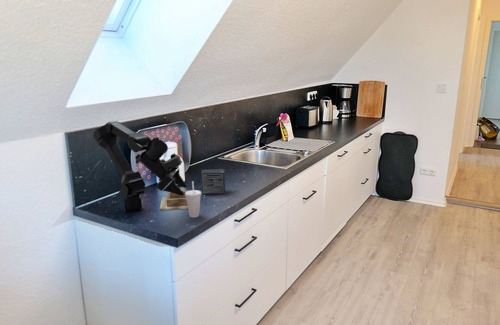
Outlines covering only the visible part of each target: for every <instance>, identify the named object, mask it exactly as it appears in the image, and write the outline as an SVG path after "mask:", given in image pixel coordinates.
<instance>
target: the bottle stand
mask: <svg viewBox="0 0 500 325" xmlns="http://www.w3.org/2000/svg"><path fill="white" fill-rule="evenodd" d="M182 191H183V193H184V195H183V196H181V195H178V194H175V193H171V192H167V196H162V197H161V202H160V206H159V211H172V210H173V211H175V210H188V205H187V200H186V196H185V192H187V191H188V190H182Z"/></svg>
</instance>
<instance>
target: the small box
mask: <svg viewBox="0 0 500 325" xmlns="http://www.w3.org/2000/svg"><path fill="white" fill-rule="evenodd" d="M225 174H226V173H225V169H224V168H219V169H217V168H216V169H202V170H201V172H200V175H201V196H206V195H209V196H210V195H225V194H226V178H225V176H226V175H225Z"/></svg>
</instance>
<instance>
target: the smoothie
mask: <svg viewBox="0 0 500 325" xmlns="http://www.w3.org/2000/svg"><path fill="white" fill-rule="evenodd" d="M194 184H195V182H194V181H193V180H192V181H191V185H192V186H191V188H192V189H191V190H186V191H187V192H185V196H186V200H187V205H188V209H187V210H188V215H189V217H190V218H198V217H199V216H200V209H201V208H200V207H201V206H200V205H201V196H202V190H197V189H195V186H194Z"/></svg>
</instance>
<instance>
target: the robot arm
mask: <svg viewBox="0 0 500 325" xmlns="http://www.w3.org/2000/svg"><path fill="white" fill-rule="evenodd" d="M118 138H119V139H122V141H124V142H126V143H127V144H128V148H129V149H130V150H131V151H132V152H134V153H137V154H136V156H135V158H134V159H135V164H139V163H141V164H142V165H143V166H144V167H145V168H146V169H148V170H149V171H150V174H151V175H155V176H156V177H157V178H158V182H157V189H158V190H159V191H161V192H167V193H168V192H171V193H175V194H178V195H181V196H183V195H184V193H183V191H184V190H182V189H181V188H184V189H186V188H187V187H188V185H187V184H186V182H185V181H184V179H183V178H182V176H181V175H180V174H181V173H180V168H179V167H180V166H181V165H182V163H183V161H182V159H181V156H180V155H179V154H176V153H172V154H170V156H169V157H170V158H168V159H167V160H165V159H161V158H162V157H163V156H164V155H165V154H166V153H167V152H168V150H169V148H168V147H169V146H168V144H167V143H166V142H165V141H164V140H161V139H160V138H159V137H157V136H156V137H153V138H151V137H150V136H149V135H148V134H144V133H137V132H135V131H133V130H131V129H130V128H128V127H126V126H125V125H123V124H122V123H121V122H120V121H117V120H115V121H109V122H105V124H104V125H102V126H100V127H98V128H96V129H95V130H94V131H93V139H94V140H95V142H96V143H97V145H98V146H100V147H101V148H103V149H105V150H106V153H107V154H108V155H109V158H110V159H111V161H112V162H113V165H114V166H115V168H116V169H117V171H118V173H119V175H120V177H121V182H120V185H121V187H120V190H119V191H118V194H119V197H120V198H123V200H124V201H123V203H124V210H123V211H124V213H135V212H142V211H141V210H142V209H143V207H144V204H143V203H144V202H143V196H141V195H144V194H145V190H146V182H145V181H144V177H142V175H141V172H140V171H134V170H133V169H132V168H131V166H130V164H129V162H128V161H127V159H126V157H125V155H124V153H123V152H122V150H121V148H120V147H119V145H118V143H117V142H118ZM140 152H141V153H140ZM139 153H140V154H139ZM180 187H181V188H180Z"/></svg>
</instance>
